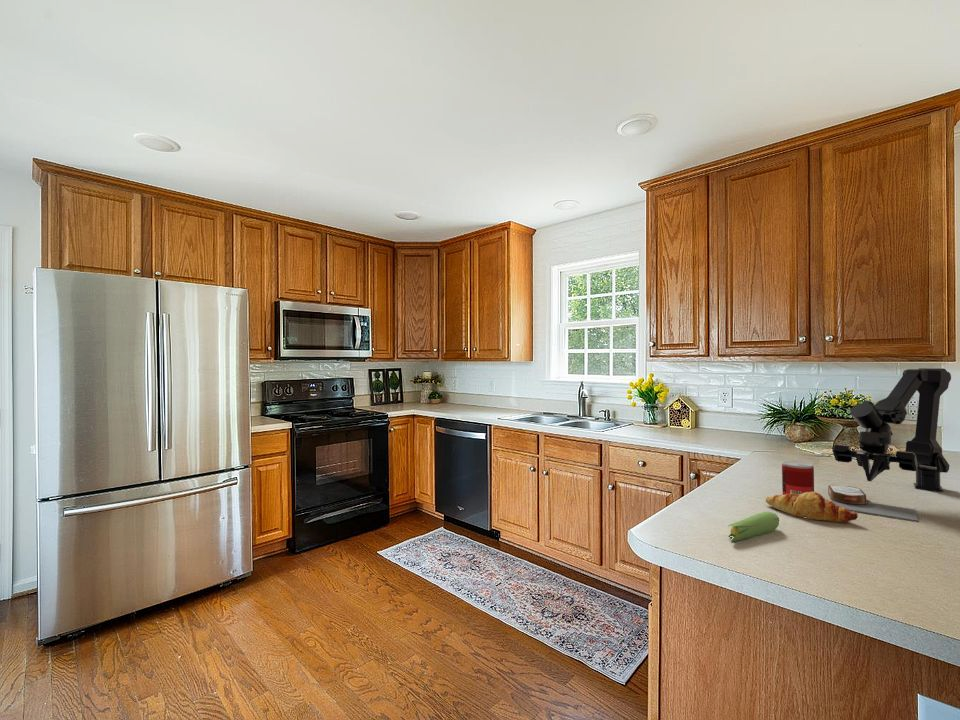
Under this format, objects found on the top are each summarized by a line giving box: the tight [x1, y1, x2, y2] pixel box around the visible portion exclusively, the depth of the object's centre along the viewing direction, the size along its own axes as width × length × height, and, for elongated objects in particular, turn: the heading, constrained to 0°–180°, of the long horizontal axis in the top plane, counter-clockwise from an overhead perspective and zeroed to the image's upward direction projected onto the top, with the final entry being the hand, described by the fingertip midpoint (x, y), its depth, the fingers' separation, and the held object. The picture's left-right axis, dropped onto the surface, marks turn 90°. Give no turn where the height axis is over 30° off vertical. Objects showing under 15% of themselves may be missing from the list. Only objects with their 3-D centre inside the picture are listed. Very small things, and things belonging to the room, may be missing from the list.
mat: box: [831, 499, 919, 523], centre depth 127 cm, size 12×18×1 cm, turn 49°
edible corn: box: [727, 511, 780, 543], centre depth 109 cm, size 5×20×5 cm
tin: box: [827, 484, 868, 504], centre depth 136 cm, size 15×3×8 cm
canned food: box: [781, 460, 815, 495], centre depth 137 cm, size 8×8×11 cm
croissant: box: [765, 491, 859, 523], centre depth 123 cm, size 21×10×8 cm, turn 39°
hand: (868, 480), depth 131 cm, fingers closed
